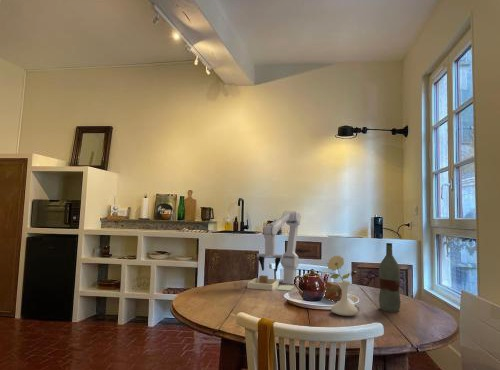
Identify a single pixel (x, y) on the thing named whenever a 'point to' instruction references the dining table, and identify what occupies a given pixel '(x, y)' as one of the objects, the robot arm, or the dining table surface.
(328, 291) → the tin
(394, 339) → the dining table surface
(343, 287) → the flower in vase
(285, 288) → the mat
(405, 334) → the dining table surface
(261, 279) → the block
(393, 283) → the bottle
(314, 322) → the dining table surface
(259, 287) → the cream tray
